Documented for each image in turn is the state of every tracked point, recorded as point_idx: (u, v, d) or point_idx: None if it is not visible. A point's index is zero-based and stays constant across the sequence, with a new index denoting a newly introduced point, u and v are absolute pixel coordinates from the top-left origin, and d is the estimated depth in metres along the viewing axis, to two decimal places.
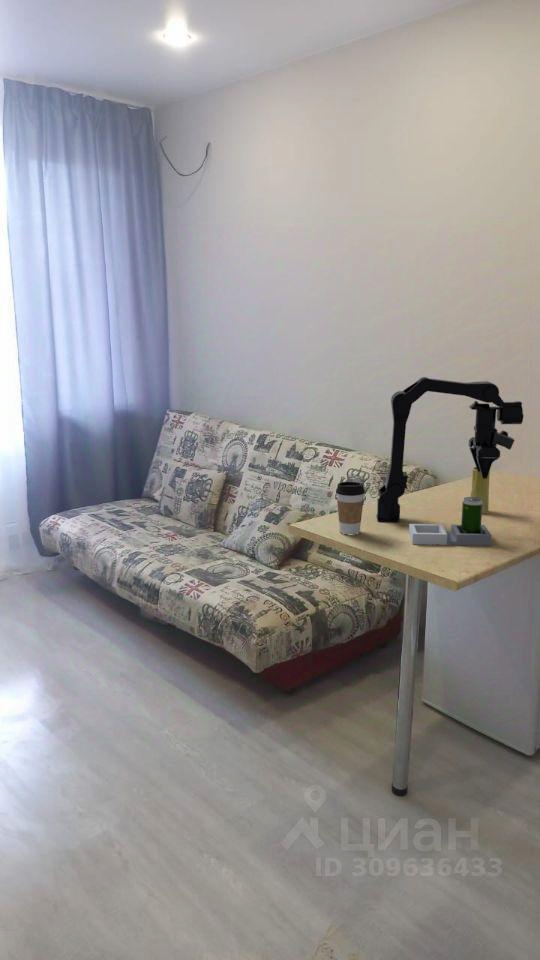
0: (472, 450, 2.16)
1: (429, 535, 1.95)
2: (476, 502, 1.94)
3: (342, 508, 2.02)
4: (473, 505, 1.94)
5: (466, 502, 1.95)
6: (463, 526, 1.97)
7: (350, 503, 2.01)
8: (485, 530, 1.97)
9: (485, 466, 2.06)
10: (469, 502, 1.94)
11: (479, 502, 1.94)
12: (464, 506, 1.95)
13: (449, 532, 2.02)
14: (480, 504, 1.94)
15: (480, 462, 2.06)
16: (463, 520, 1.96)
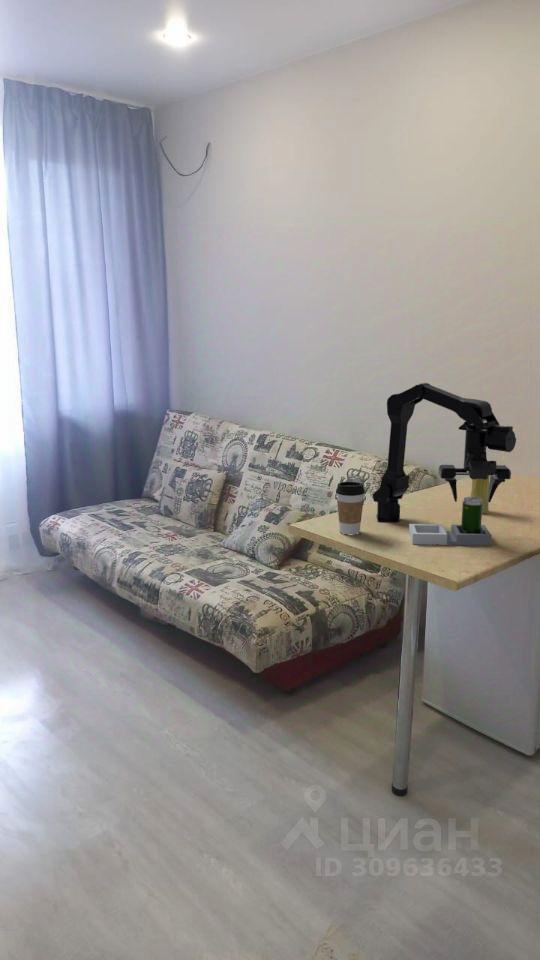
0: (490, 477, 1.96)
1: (429, 535, 1.95)
2: (476, 502, 1.94)
3: (342, 508, 2.02)
4: (473, 505, 1.94)
5: (466, 502, 1.95)
6: (463, 526, 1.97)
7: (350, 503, 2.01)
8: (485, 530, 1.97)
9: (451, 487, 1.96)
10: (469, 502, 1.94)
11: (479, 502, 1.94)
12: (464, 506, 1.95)
13: (449, 532, 2.02)
14: (480, 504, 1.94)
15: (449, 481, 1.97)
16: (463, 520, 1.96)
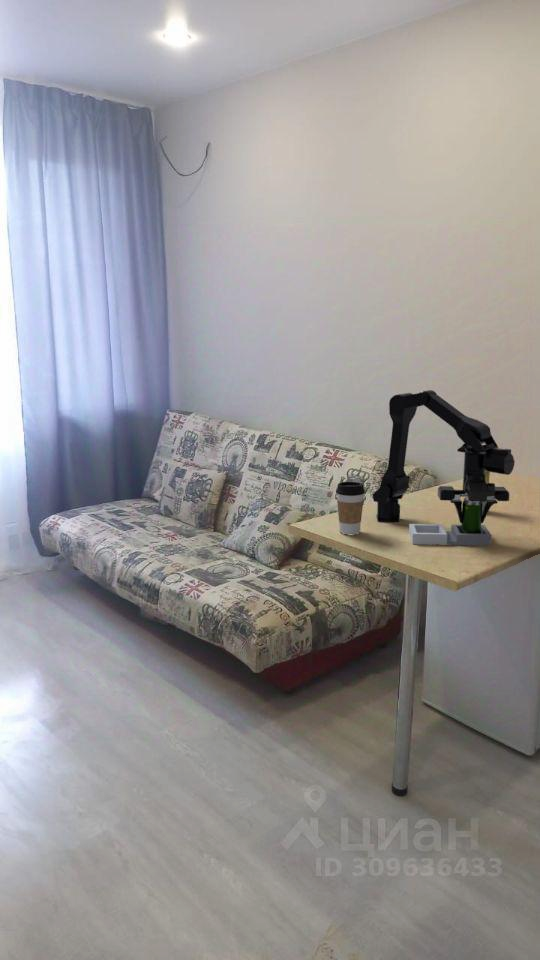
0: None
1: (429, 535, 1.95)
2: (476, 502, 1.94)
3: (342, 508, 2.02)
4: (473, 505, 1.94)
5: (466, 502, 1.95)
6: (463, 526, 1.97)
7: (350, 503, 2.01)
8: (485, 530, 1.97)
9: (457, 509, 1.97)
10: (469, 502, 1.94)
11: (479, 502, 1.94)
12: (464, 506, 1.95)
13: (449, 532, 2.02)
14: (480, 504, 1.94)
15: (454, 503, 1.99)
16: (463, 520, 1.96)
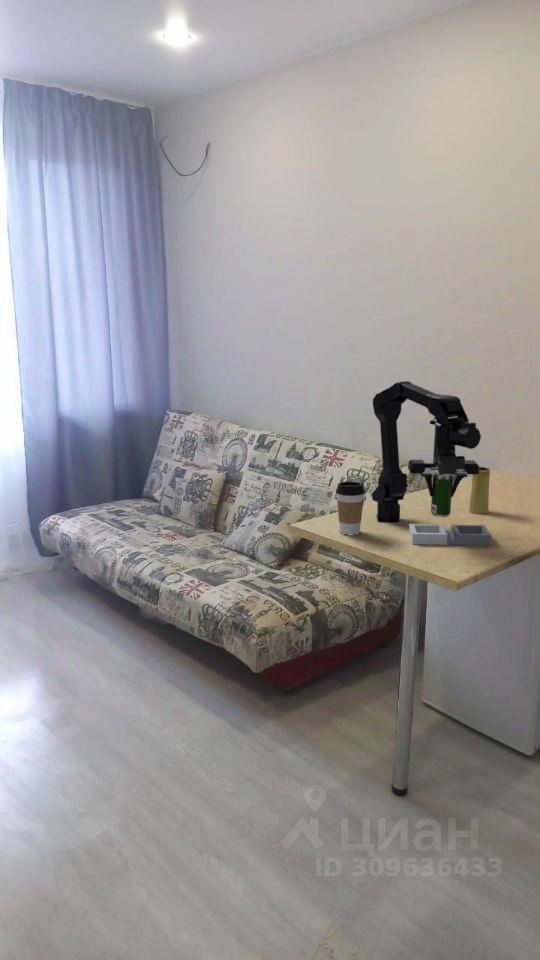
0: None
1: (429, 535, 1.95)
2: (446, 476, 1.93)
3: (342, 508, 2.02)
4: (443, 479, 1.93)
5: (436, 476, 1.94)
6: (433, 501, 1.96)
7: (350, 503, 2.01)
8: (485, 530, 1.97)
9: None
10: (439, 476, 1.93)
11: (449, 476, 1.93)
12: (434, 480, 1.94)
13: (449, 532, 2.02)
14: (450, 478, 1.93)
15: (424, 476, 1.98)
16: (433, 495, 1.96)
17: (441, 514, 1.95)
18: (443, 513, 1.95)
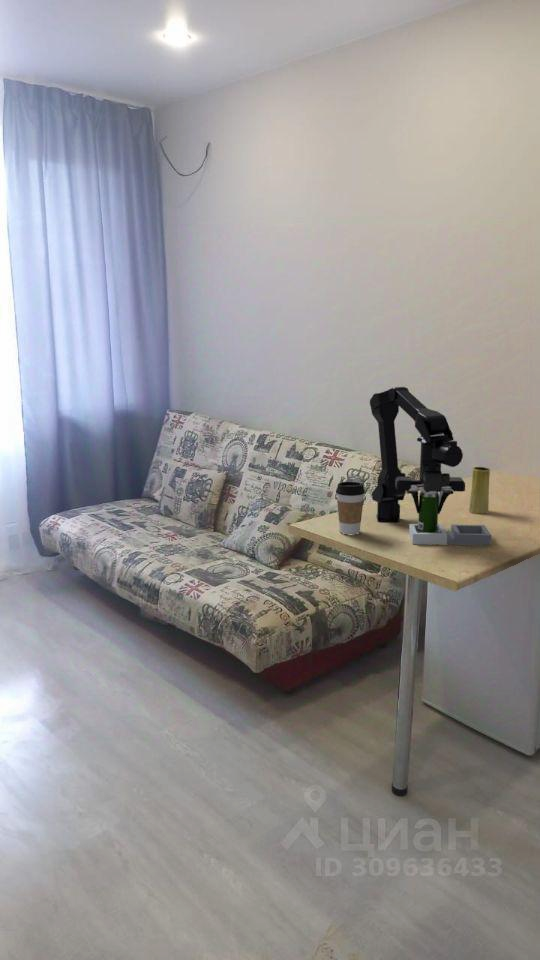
0: None
1: (429, 535, 1.95)
2: (432, 494, 1.94)
3: (342, 508, 2.02)
4: (429, 497, 1.94)
5: (423, 494, 1.95)
6: (420, 518, 1.97)
7: (350, 503, 2.01)
8: (485, 530, 1.97)
9: None
10: (425, 494, 1.95)
11: (435, 494, 1.95)
12: (421, 498, 1.96)
13: (449, 532, 2.02)
14: (436, 496, 1.95)
15: None
16: (420, 512, 1.97)
17: (428, 531, 1.97)
18: (430, 530, 1.97)
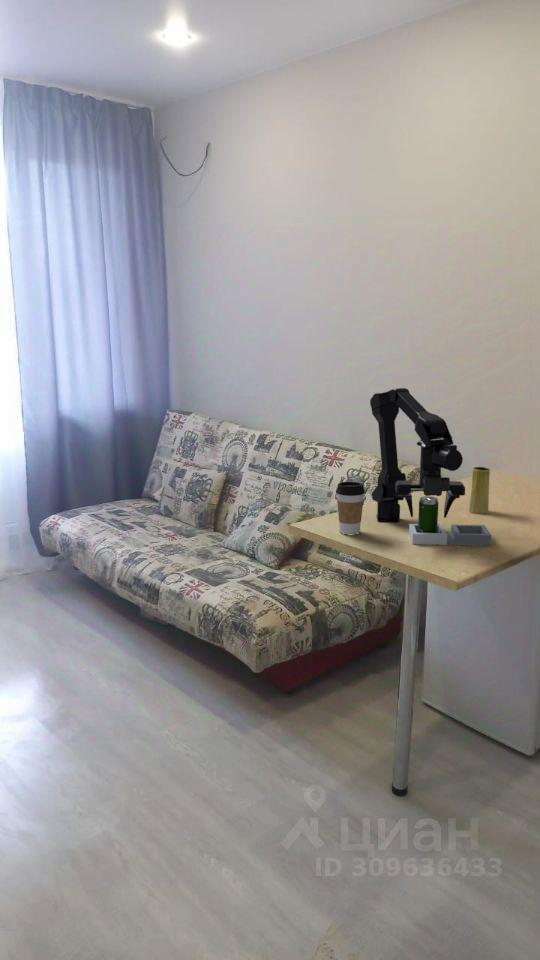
0: (446, 493, 1.99)
1: (429, 535, 1.95)
2: (432, 501, 1.95)
3: (342, 508, 2.02)
4: (429, 504, 1.95)
5: (422, 501, 1.96)
6: (420, 525, 1.98)
7: (350, 503, 2.01)
8: (485, 530, 1.97)
9: None
10: (425, 501, 1.95)
11: (435, 501, 1.95)
12: (420, 505, 1.96)
13: (449, 532, 2.02)
14: (436, 503, 1.95)
15: None
16: (419, 519, 1.98)
17: None
18: None
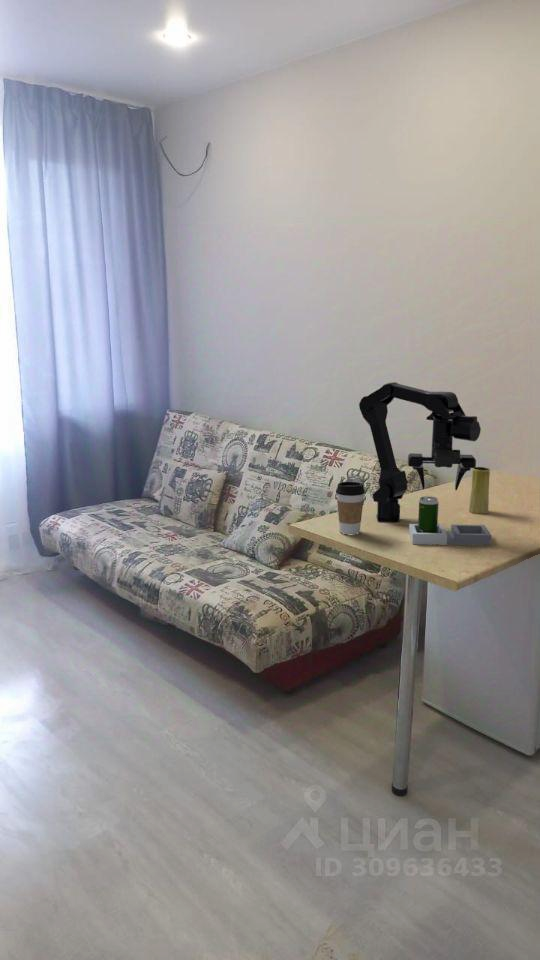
0: None
1: (429, 535, 1.95)
2: (432, 501, 1.95)
3: (342, 508, 2.02)
4: (429, 504, 1.95)
5: (422, 501, 1.96)
6: (420, 525, 1.98)
7: (350, 503, 2.01)
8: (485, 530, 1.97)
9: None
10: (425, 501, 1.95)
11: (435, 501, 1.95)
12: (420, 505, 1.96)
13: (449, 532, 2.02)
14: (436, 503, 1.95)
15: None
16: (419, 519, 1.98)
17: None
18: None
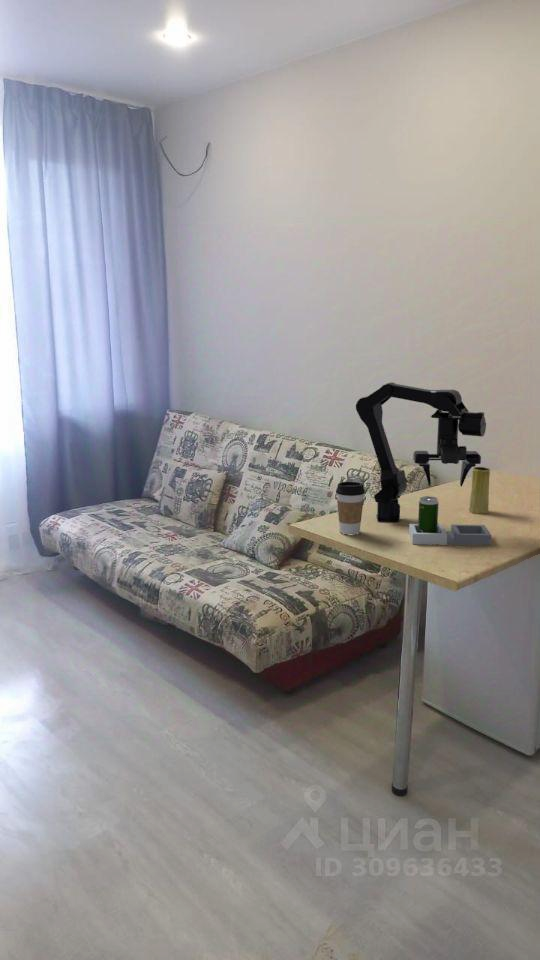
0: (462, 462, 2.07)
1: (429, 535, 1.95)
2: (432, 501, 1.95)
3: (342, 508, 2.02)
4: (429, 504, 1.95)
5: (422, 502, 1.96)
6: (420, 525, 1.98)
7: (350, 503, 2.01)
8: (485, 530, 1.97)
9: (425, 472, 2.07)
10: (425, 502, 1.95)
11: (435, 501, 1.95)
12: (420, 505, 1.96)
13: (449, 532, 2.02)
14: (436, 503, 1.95)
15: (423, 466, 2.08)
16: (419, 519, 1.98)
17: None
18: None
